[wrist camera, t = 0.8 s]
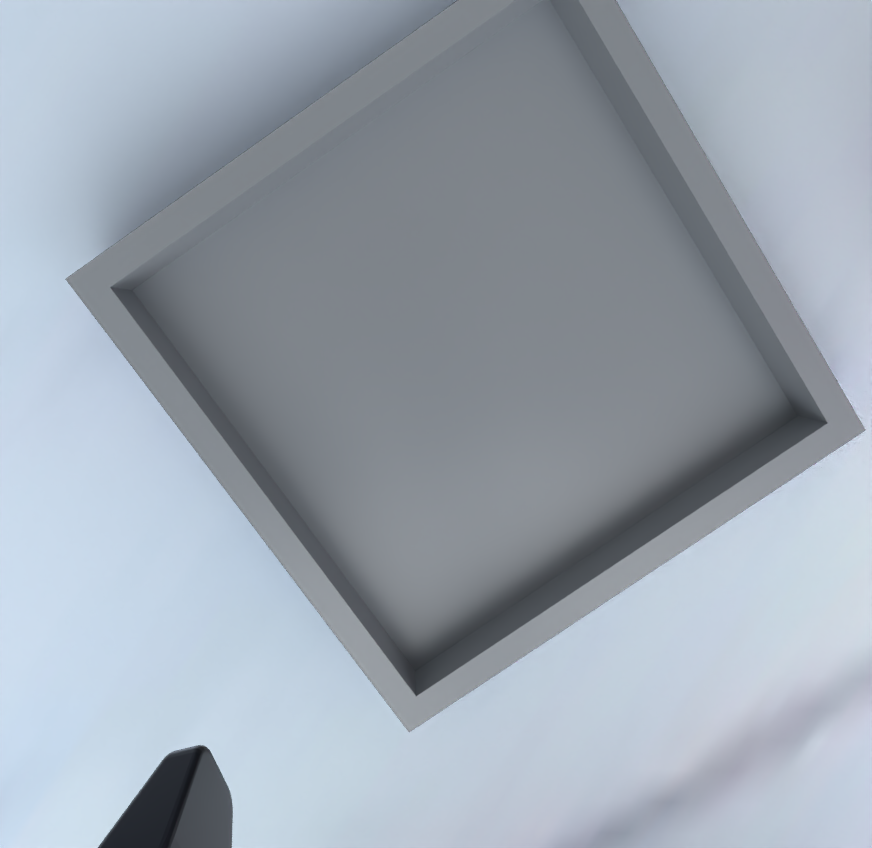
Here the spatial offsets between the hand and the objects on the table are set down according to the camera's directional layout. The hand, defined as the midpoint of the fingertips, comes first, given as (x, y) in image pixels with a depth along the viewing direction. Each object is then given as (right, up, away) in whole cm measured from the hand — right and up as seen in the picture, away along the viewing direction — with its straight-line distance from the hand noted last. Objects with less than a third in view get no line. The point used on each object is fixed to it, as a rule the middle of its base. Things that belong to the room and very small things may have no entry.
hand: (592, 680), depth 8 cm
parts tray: (-1, +5, +13) cm, 14 cm away
